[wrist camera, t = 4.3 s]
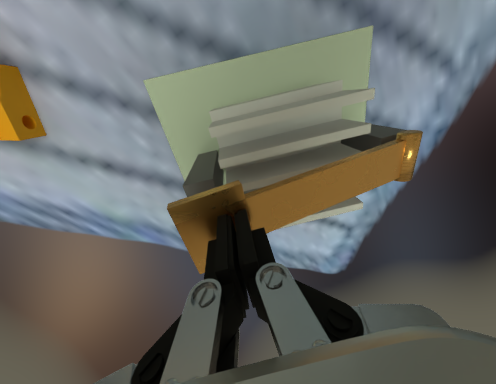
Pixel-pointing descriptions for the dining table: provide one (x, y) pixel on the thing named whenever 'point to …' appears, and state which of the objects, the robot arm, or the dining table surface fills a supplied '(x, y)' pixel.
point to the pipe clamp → (17, 108)
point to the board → (271, 115)
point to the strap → (293, 193)
